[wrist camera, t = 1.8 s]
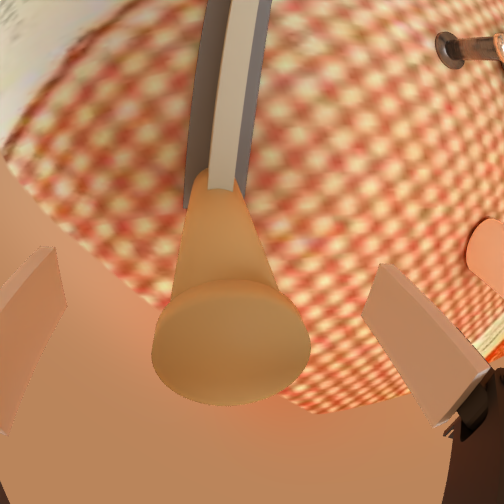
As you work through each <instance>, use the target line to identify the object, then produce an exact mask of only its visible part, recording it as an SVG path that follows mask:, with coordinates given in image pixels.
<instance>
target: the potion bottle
mask: <svg viewBox="0 0 504 504" xmlns="http://www.w3.org/2000/svg"><path fill="white" fill-rule="evenodd" d="M466 263H467V265H468V268H469V270H471V271H472V272H473V273H474V274H475V275H477V276H478V277H479V278H480V279H481V280H483V281H484V282H485V283H486V284H487V285H488V286H490V287H491V288H492V289H493V290H494V291H495V292H496V293H497V294H499V295H500V296H501V297H502V298H503V299H504V224H503V223H502V222H500V221H498V220H496V219H493V218H490V219H486V220H484V221H483V222H482V223H480V224H479V225H478V226H477V228H476V229H475V230H474V232H473V234H472V236H471V238H470V240H469V243H468V246H467V251H466Z"/></svg>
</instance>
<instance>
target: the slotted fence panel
mask: <svg viewBox="0 0 504 504" xmlns="http://www.w3.org/2000/svg"><path fill="white" fill-rule="evenodd" d="M258 4H259V0H231V4H230V9H229V15H228V21H227V27H226V33H225V39H224V45H223V51H222V58H221V65H220V71H219V79H218V86H217V93H216V101H215V109H214V117H213V126H212V135H211V144H210V154H209V164H208V168H206V169H204V170H203V171H201V172H200V173H199V174H198V175H197V176H196V178H195V180H194V182H193V186H192V191H191V195H190V200H189V204H188V209H187V213H186V218H185V223H184V228H183V233H182V238H181V243H180V248H179V254H178V259H177V265H176V270H175V276H174V282H173V288H172V294H171V300H170V303H169V304H168V305H167V306H166V307H165V309H164V310H163V311H162V313H161V315H160V317H159V318H158V321H157V324H156V329H155V334H154V340H153V346H152V353H151V355H152V363H153V367H154V369H155V371H156V373H157V375H158V376H159V378H160V379H161V380H162V382H163V383H164V384H165V385H166V386H167V387H169V388H170V389H171V390H172V391H174V392H175V393H177V394H179V395H181V396H183V397H185V398H187V399H190V400H192V401H195V402H199V403H203V404H208V405H216V406H236V405H244V404H249V403H253V402H257V401H260V400H263V399H266V398H268V397H271V396H273V395H275V394H277V393H279V392H280V391H282V390H284V389H285V388H286V387H288V386H289V385H290V384H292V383H293V382H294V381H295V380H296V379H297V378H298V377H299V375H300V374H301V373H302V372H303V370H304V368H305V367H306V365H307V363H308V360H309V357H310V351H311V343H310V338H309V334H308V332H307V329H306V327H305V325H304V322H303V320H302V318H301V315H300V313H299V311H298V309H297V308H296V306H295V305H294V304H293V302H292V301H291V300H290V299H289V298H288V297H287V296H285V295H284V294H283V293H281V292H280V291H279V289H278V286H277V284H276V281H275V278H274V276H273V273H272V271H271V268H270V265H269V263H268V260H267V258H266V255H265V252H264V250H263V247H262V245H261V242H260V240H259V237H258V234H257V232H256V229H255V227H254V224H253V222H252V219H251V217H250V214H249V211H248V209H247V206H246V204H245V201H244V199H243V196H242V194H241V191H240V189H239V186H238V183H237V181H236V179H235V169H236V160H237V152H238V144H239V136H240V128H241V120H242V113H243V105H244V98H245V90H246V83H247V76H248V69H249V62H250V56H251V49H252V42H253V36H254V29H255V23H256V17H257V10H258Z"/></svg>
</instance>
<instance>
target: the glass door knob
mask: <svg viewBox="0 0 504 504" xmlns="http://www.w3.org/2000/svg"><path fill="white" fill-rule="evenodd" d="M435 46H436V50H437V53H438V56H439V58H440V59H441V61H442V62H443V63H444V64H445V65H446V66H447V67H448V68H451V69H460V68H461V67H462V66H463V65H464V61H465V60H497V61H502V62H503V63H504V33H497V34H495V35H494V37H477V38H465V39H457V38H456V37H455V36H454V35H453V34H451V33H449V32H441V33H439V34H438V35H437V37H436V40H435Z"/></svg>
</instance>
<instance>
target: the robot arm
mask: <svg viewBox="0 0 504 504" xmlns="http://www.w3.org/2000/svg"><path fill="white" fill-rule="evenodd" d="M66 308H67V303H66V298H65V294H64V290H63V285H62V281H61V277H60V271H59V266H58V260H57V255H56V249H55V247H43V246H40V247H39V248H38V249H37V250H36V251H35V252H34V253H33V254H32V255H31V256H30V257H29V258H28V259H27V260H26V261H25V262H24V263H23V264H22V265H21V266H20V268H19V269H18V270H17V271H16V272H15V273H14V274H13V275H12V276H11V277H10V278H9V279H8V280H7V282H6V283H5V284H4V285H3V286H2V287H1V288H0V433H1V434H4V435H6V436H9V433H10V430H11V427H12V424H13V421H14V419H15V416H16V413H17V410H18V408H19V405H20V403H21V400H22V398H23V395H24V393H25V390H26V388H27V386H28V383H29V381H30V378H31V377H32V374H33V372H34V370H35V368H36V366H37V364H38V361H39V359H40V357H41V355H42V353H43V351H44V349H45V347H46V345H47V343H48V341H49V339H50V337H51V335H52V333H53V331H54V330H55V328H56V326H57V324H58V322H59V320H60V319H61V317H62V315H63V313H64V311H65V310H66ZM361 316H362V318H363V319H364V321H365V322H366V324H367V325H368V327H369V328H370V330H371V331H372V333H373V334H374V336H375V337H376V339H377V340H378V342H379V343H380V345H381V346H382V348H383V349H384V351H385V352H386V354H387V355H388V357H389V358H390V360H391V361H392V363H393V364H394V366H395V368H396V369H397V371H398V372H399V374H400V375H401V377H402V379H403V380H404V382H405V383H406V385H407V386H408V388H409V390H410V391H411V393H412V395H413V396H414V398H415V399H416V401H417V402H418V404H419V406H420V408H421V409H422V411H423V413H424V414H425V416H426V417H427V419H428V421H429V423H430V424H431V426H432V428H434V427H436V426H439V425H441V424H443V423H445V422H447V421H448V420H449V419H450V418H451V416H452V415H453V414H454V413H455V412H456V411H457V412H458V414H459V417H458V418H457V419H456V420H455V421H454V422H453V423H452V424H451V425H450V426H449V427H448V428H447V429H446V430H445V431H444V434H443V436H446V435H447V434H448V433H449V432H450V431H451V430H453V429H454V431H453V432H452V433H451V434H450V436H449V438H452V439H453V443H452V452H451V459H450V465H449V472H448V477H447V482H446V487H445V492H444V496H443V501H442V504H504V368H498V369H496V371H495V370H494V369H493V368H492V367H491V366H490V365H489V363H488V362H487V361H486V360H485V359H484V358H483V356H482V355H481V354H480V353H479V352H478V351H477V349H476V348H475V347H474V346H473V345H471V343H470V341H469V340H468V339H466V338H465V336H464V335H463V334H462V332H461V331H460V330H459V329H458V328H457V327H455V326H454V325H453V324H452V322H451V321H450V320H449V319H448V318H447V317H446V316H445V315H444V314H443V313H442V312H441V311H440V310H439V309H438V308H437V307H436V306H435V305H434V304H433V303H432V302H431V301H430V300H429V299H428V298H427V297H426V296H425V294H424V293H422V292H421V291H420V290H419V289H418V288H417V287H416V286H415V285H414V284H413V283H412V282H411V281H410V280H409V279H408V278H407V277H406V276H405V275H404V274H403V273H402V272H401V271H400V270H399V269H398V268H397V267H396V266H395V265H393V264H379V267H378V270H377V273H376V276H375V279H374V282H373V285H372V287H371V290H370V293H369V296H368V298H367V301H366V304H365V306H364V309H363V312H362V314H361ZM0 504H10V503H9V500H8V498H7V496H6V494H5V491H4V489H3V487H2V484H1V482H0Z"/></svg>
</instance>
